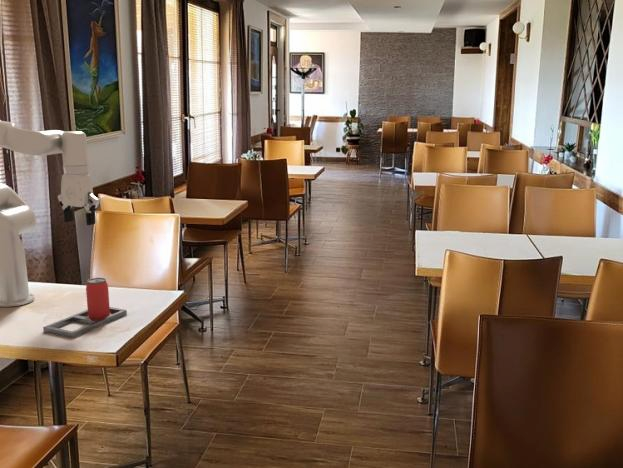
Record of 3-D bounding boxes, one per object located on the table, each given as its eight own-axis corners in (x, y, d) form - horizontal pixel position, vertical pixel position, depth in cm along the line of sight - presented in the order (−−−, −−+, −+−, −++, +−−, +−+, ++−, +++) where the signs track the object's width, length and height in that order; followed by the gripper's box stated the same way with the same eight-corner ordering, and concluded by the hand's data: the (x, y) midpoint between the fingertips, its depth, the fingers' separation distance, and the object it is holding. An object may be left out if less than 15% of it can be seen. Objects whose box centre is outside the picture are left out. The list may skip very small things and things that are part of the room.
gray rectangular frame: (43, 332, 187) (43, 327, 187) (99, 309, 207) (99, 305, 207) (72, 338, 182) (72, 333, 182) (126, 314, 202) (126, 310, 202)
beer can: (103, 320, 196) (100, 283, 193) (84, 319, 197) (81, 282, 194) (114, 313, 202) (111, 277, 199) (95, 312, 203) (92, 276, 201)
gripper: (47, 170, 202) (51, 222, 206) (87, 173, 195) (91, 227, 198) (65, 167, 209) (69, 218, 212) (105, 171, 201) (108, 223, 205)
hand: (79, 223), depth 205 cm, fingers open, 9 cm apart
